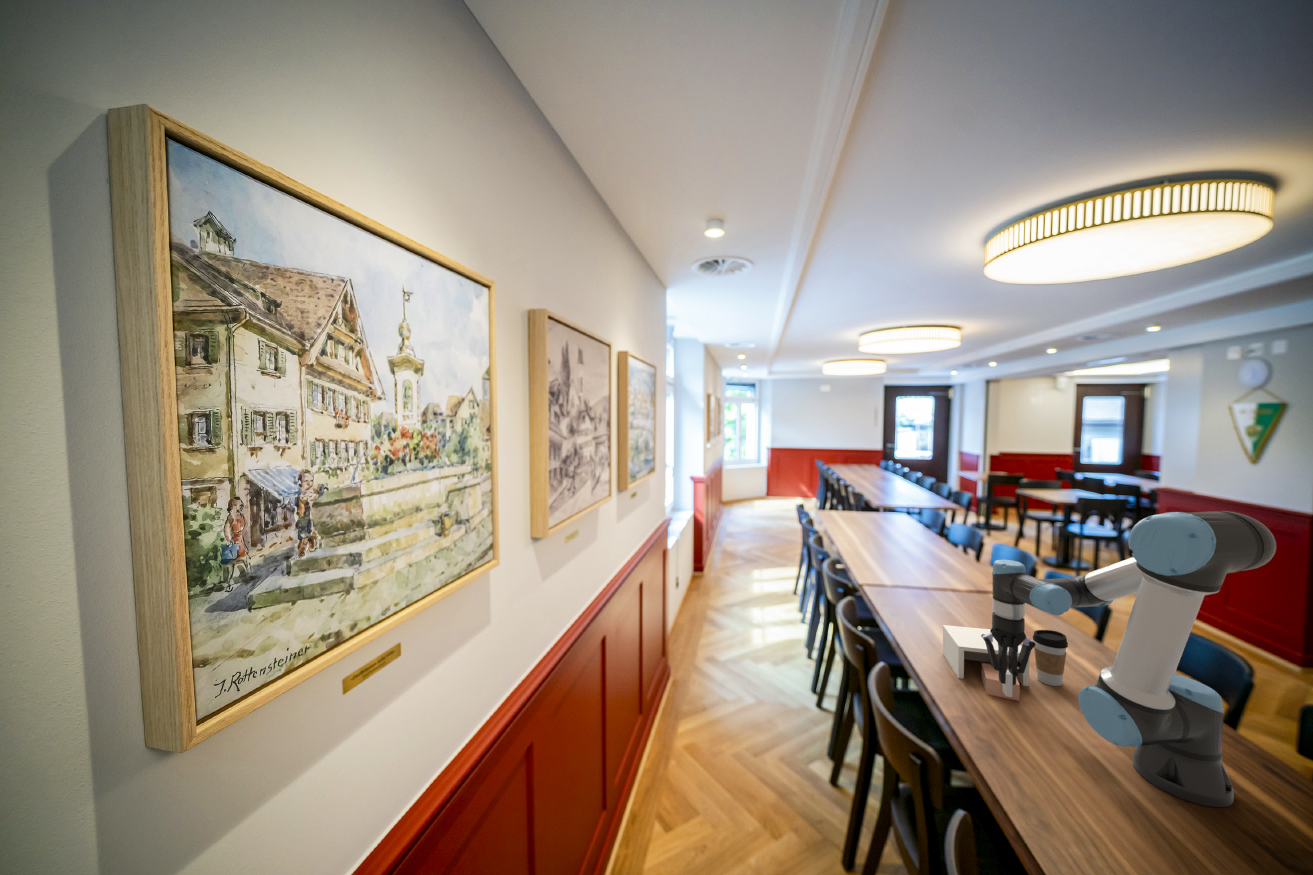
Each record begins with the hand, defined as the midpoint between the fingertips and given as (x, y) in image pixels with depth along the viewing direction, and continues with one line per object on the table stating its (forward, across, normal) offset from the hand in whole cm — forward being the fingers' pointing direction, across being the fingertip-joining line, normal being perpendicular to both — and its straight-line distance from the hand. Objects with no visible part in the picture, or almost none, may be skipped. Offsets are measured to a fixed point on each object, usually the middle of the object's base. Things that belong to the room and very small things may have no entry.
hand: (1007, 693), depth 136 cm
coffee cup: (+2, -17, -15) cm, 23 cm away
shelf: (+2, 0, -18) cm, 18 cm away
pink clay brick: (+2, -1, -7) cm, 7 cm away
